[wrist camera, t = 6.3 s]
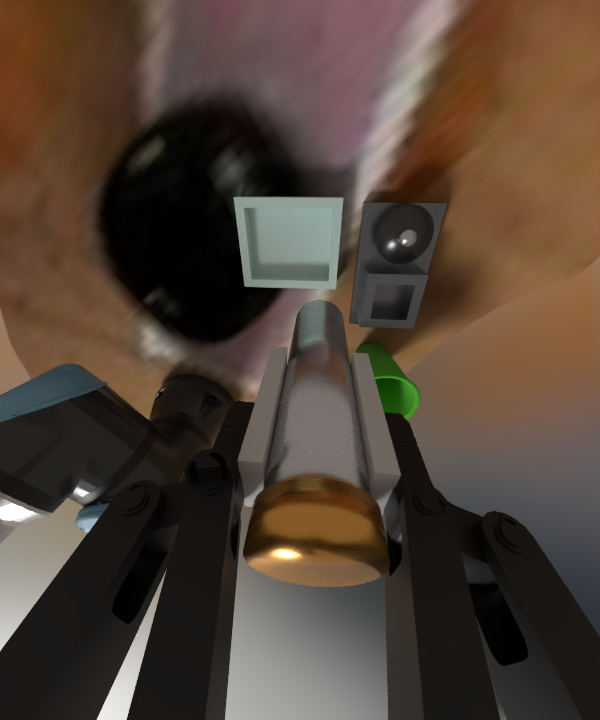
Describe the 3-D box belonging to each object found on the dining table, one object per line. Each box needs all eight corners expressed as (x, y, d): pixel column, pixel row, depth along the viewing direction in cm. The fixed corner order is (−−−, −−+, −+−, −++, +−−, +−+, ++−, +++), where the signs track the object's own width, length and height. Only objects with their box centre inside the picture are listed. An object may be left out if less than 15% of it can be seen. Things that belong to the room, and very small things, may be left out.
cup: (383, 320, 38) (402, 363, 29) (408, 362, 41) (432, 412, 32) (331, 348, 41) (333, 394, 32) (358, 385, 45) (367, 435, 36)
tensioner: (349, 320, 38) (352, 336, 34) (363, 202, 29) (369, 204, 25) (410, 322, 37) (421, 339, 33) (443, 202, 29) (463, 205, 25)
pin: (292, 343, 20) (248, 579, 8) (293, 295, 17) (235, 521, 6) (342, 347, 19) (373, 592, 8) (349, 299, 17) (408, 538, 6)
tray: (249, 280, 36) (244, 286, 34) (239, 196, 30) (233, 197, 28) (335, 283, 35) (335, 289, 33) (342, 196, 29) (343, 197, 27)
